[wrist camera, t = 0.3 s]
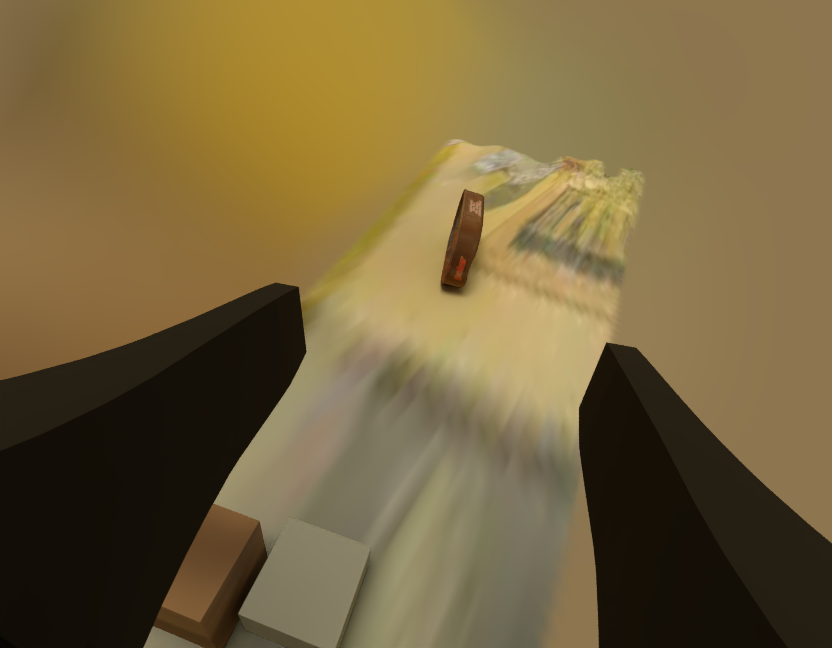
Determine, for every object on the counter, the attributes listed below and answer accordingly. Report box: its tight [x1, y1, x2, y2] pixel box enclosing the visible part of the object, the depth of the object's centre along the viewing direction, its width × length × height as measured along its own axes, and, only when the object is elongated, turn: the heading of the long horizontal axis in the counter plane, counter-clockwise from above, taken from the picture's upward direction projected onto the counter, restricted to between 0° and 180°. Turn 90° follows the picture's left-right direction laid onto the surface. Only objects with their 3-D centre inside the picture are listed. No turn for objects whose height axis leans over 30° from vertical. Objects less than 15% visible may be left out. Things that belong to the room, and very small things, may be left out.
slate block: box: [238, 517, 371, 648], centre depth 23 cm, size 5×5×3 cm
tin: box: [441, 189, 484, 287], centre depth 50 cm, size 15×3×8 cm, turn 171°
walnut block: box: [153, 504, 268, 648], centre depth 21 cm, size 4×4×6 cm
